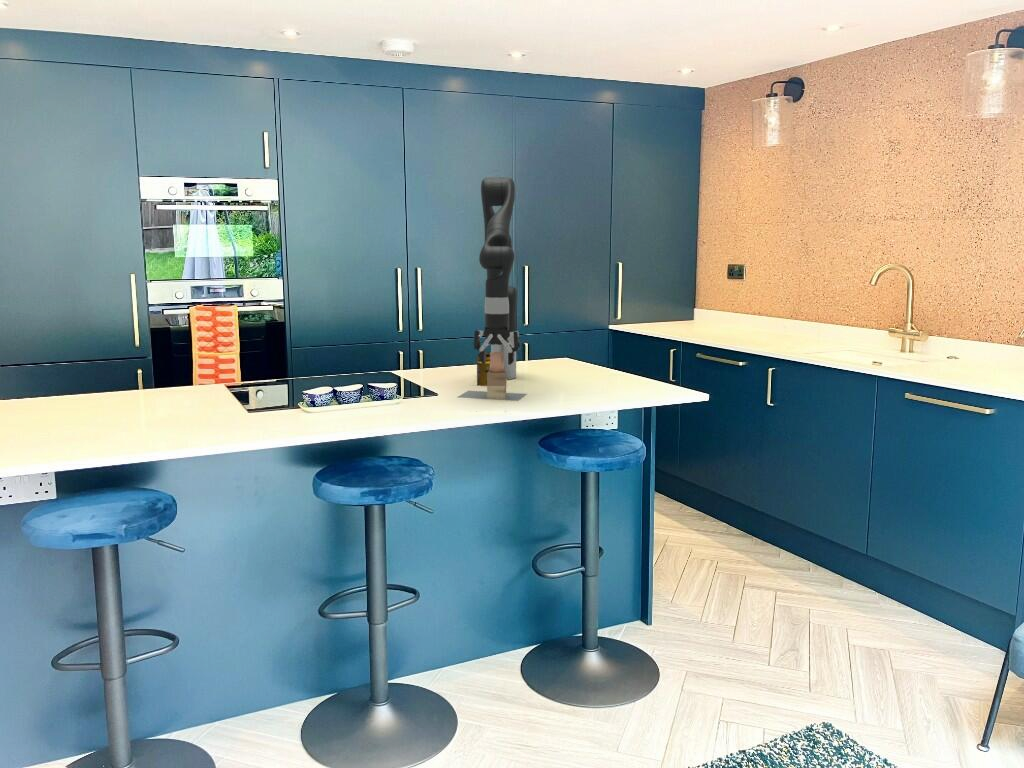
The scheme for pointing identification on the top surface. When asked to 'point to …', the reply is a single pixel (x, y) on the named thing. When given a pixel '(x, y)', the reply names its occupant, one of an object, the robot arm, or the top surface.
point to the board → (484, 396)
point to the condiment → (482, 370)
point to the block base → (496, 392)
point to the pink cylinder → (496, 362)
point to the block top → (496, 378)
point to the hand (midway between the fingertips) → (496, 363)
